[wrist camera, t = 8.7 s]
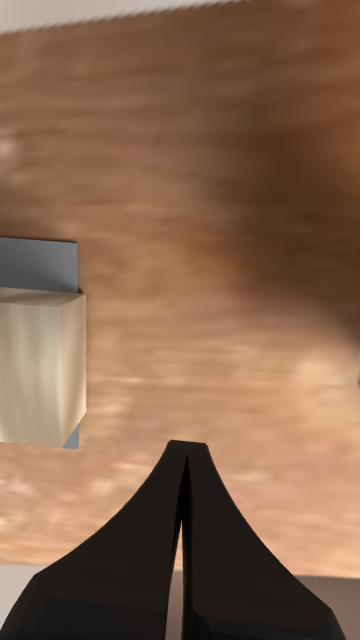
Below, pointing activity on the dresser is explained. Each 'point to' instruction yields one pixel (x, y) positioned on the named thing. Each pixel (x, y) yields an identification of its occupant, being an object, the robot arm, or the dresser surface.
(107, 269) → the dresser surface
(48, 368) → the birch block
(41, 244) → the mat
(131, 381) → the dresser surface
